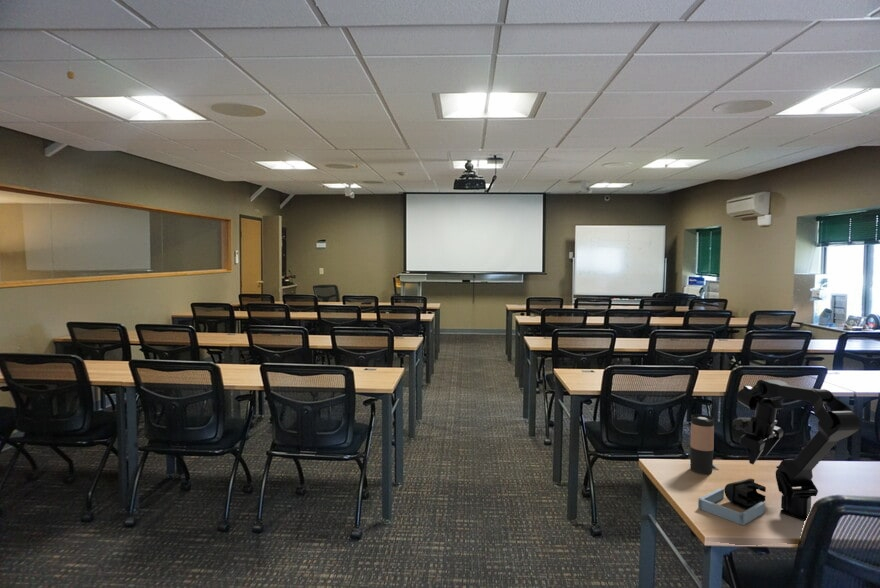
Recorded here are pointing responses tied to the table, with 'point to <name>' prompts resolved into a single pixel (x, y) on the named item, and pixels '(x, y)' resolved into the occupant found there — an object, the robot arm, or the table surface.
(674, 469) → the table surface
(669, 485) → the table surface
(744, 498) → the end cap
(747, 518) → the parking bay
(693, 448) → the travel mug
